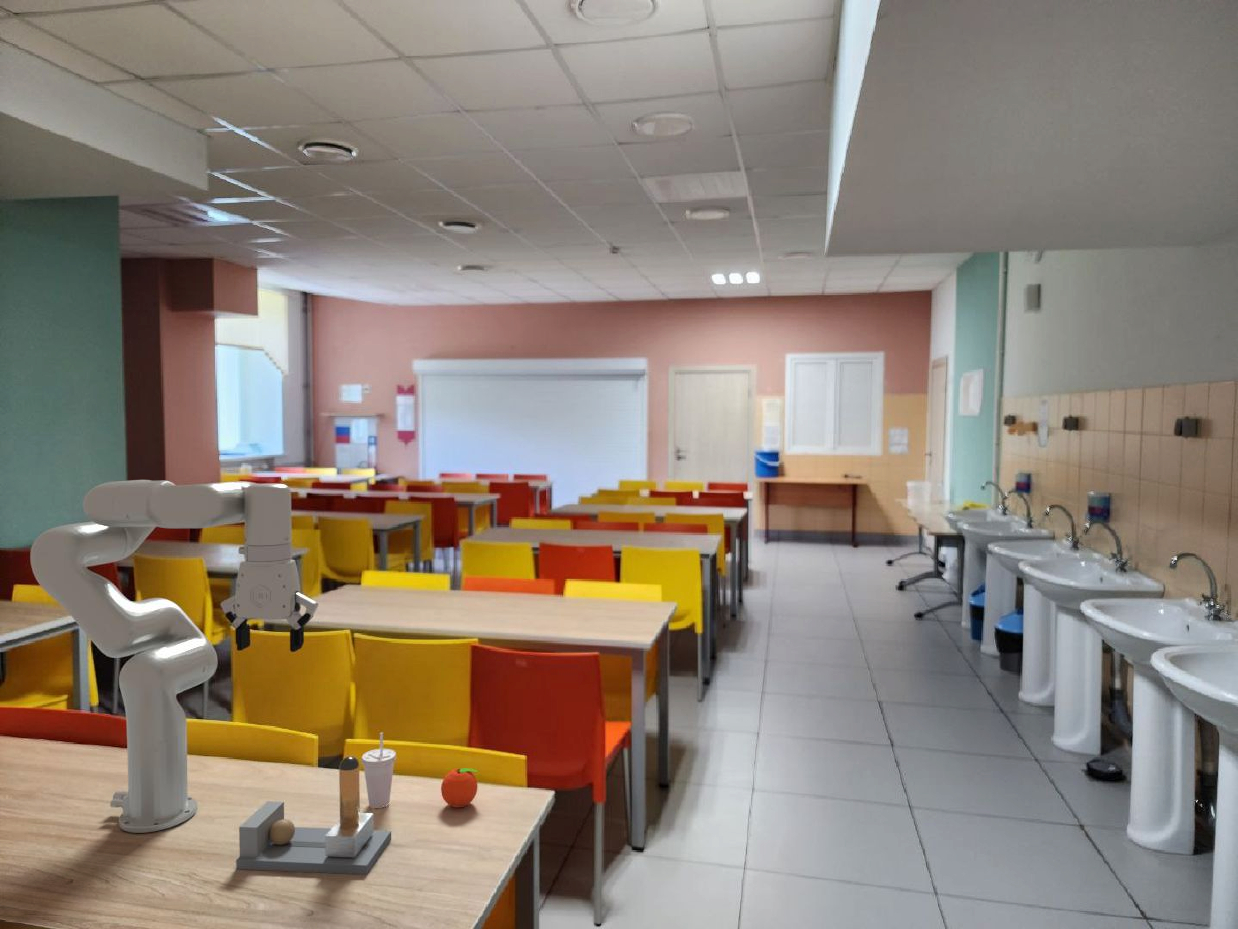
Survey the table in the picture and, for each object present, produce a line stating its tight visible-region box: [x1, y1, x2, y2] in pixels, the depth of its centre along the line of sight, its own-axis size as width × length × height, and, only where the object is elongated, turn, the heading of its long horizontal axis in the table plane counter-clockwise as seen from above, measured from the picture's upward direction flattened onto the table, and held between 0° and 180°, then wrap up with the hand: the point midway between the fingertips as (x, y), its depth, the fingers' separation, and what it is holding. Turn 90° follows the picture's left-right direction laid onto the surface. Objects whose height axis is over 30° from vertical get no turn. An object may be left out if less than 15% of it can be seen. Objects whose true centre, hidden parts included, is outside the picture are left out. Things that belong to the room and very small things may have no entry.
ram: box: [325, 755, 374, 857], centre depth 131 cm, size 5×8×15 cm, turn 176°
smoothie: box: [361, 732, 397, 809], centre depth 150 cm, size 6×6×14 cm
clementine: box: [440, 767, 481, 808], centre depth 150 cm, size 8×7×7 cm
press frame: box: [235, 800, 392, 875], centre depth 132 cm, size 22×11×6 cm, turn 86°
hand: (269, 649), depth 138 cm, fingers open, 9 cm apart
